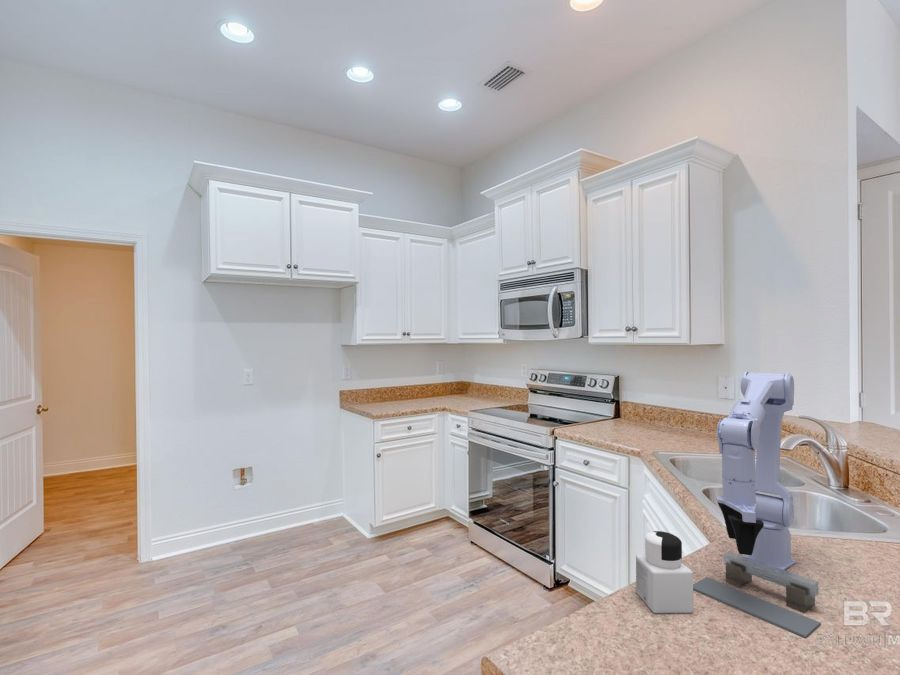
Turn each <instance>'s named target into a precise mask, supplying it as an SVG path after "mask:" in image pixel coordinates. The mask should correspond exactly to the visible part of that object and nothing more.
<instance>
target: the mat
mask: <svg viewBox="0 0 900 675" xmlns="http://www.w3.org/2000/svg"><path fill="white" fill-rule="evenodd" d="M693 591H695V592H697V593H700V594H702V595H704V596H707V597H709V598H711V599H714V600H715V601H718V602H721V603H722V604H725V605H728V606H730V607H732V608H735V609H737V610H739V611H741V612H743V613H746V614H748V615H750V616H753V617H756V618H758V619H760V620H762V621H765V622H767V623H769V624H771V625H774V626H776V627H779V628H781V629H783V630H786V631H788V632H790V633H792V634H794V635H797V636H799V637H801V638H804V639H807V638H808V637H809V636H810V635H812V634H813V633H814V632H815V631H816V630H817V629H818V628H819V627H820V626H822V625H821V624H822V623H821V622H820V621H818V620H816V619H813V618H811V617H808V616H805V615H804V614H801V613H798V612H796V611H793V610H790V609H788V608H786V607H783V606H780V605H778V604H776V603H773V602H770V601H768V600H766V599H763V598H760V597H757V596H755V595H753V594H750V593H748V592H746V591H743V590H741V589H737V588H736V587H733V586H730V585H728V584H725V583H722V582H720V581H718V580H715V579H713V578H710V577H708V576H706V577H703V578H702V579H700V580H698V581H696V582H693Z"/></svg>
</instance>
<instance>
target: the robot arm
mask: <svg viewBox="0 0 900 675" xmlns="http://www.w3.org/2000/svg"><path fill="white" fill-rule="evenodd" d="M740 391H741V394H742V395H743V398H741V399H739V400H737V401H736V402H735V403H734V405H733V407H732V409H731V410H730V412H729V415H728V416H727V417H724V418H723V419H720V420H719V421H718V422H717V427H716V439H717V443H718V448H719V449H718V451H719V454H720V455H721V475H722V476H721V479H722V483H721V484H722V487H721V490H722V496H716V497H715V501H716V502H717V504H718V507H719V508H720V510H721V513H722V516H723V519H724V524H725V530H726V532H727V536H728V538H729V539H730V540H731V539H732V540H735V544H736V548H737V551H738V554H739V555H742V556H744V557H747V558H750V559H753V560H756V561H759V562H762V563H765V564H768V565H771V566H774V567H777V568H780V569H783V570H786V569H789V567H790V568H791V566H793V565H794V564H795V563H796V562H797V560H796V559H793V558H792V541H791V540H792V536H791V534H792V533H791V531H790V530H789V528H790V527H791V526H792V525H793V523H794V517H795V507H794V496H793V494H792V492H791V491H790V490H789V489H788V488H786V486H784V485H783V484H781V482H780V481H779V480H780V463H781V444H782V443H781V442H782V422H783V418H784V414H785V413H786V412H790V411H792V410H793V406H794V403H795V402H794V400H795V379H794V376H793V375H792V374H791V373H790V372H786V373H774V372H772V373H771V372H770V373H769V372H749V371H745V372H744V373H742V375H741V376H740ZM759 492H760V493H759ZM763 493H765V494H763ZM768 494H770V495H768ZM773 495H774V496H773ZM775 495H776V496H775Z"/></svg>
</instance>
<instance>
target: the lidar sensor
mask: <svg viewBox="0 0 900 675" xmlns="http://www.w3.org/2000/svg"><path fill="white" fill-rule="evenodd" d="M682 543H683V542H682V540H681V539H680V537H678V536H677V535H675V534H672V533H671V532H667V531H662V530H661V531H659V530H658V531H657V530H655V531H650V532H647V533H646V534H645V536H644V554H636V555H635V592H636V594H637V595H638V596H639V597H640V599H641V600H642V601H643V602H644V604H646V606H647V607H648V608H649V609H650V611H651V612H653V614H691V613H694V590H693V584H694V572H693V571H692V570H691V569H690V568H689V567H688V566H686V565H685V564H684V563H682V562H683V548H682V547H683V544H682Z"/></svg>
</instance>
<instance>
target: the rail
mask: <svg viewBox="0 0 900 675" xmlns="http://www.w3.org/2000/svg"><path fill="white" fill-rule="evenodd" d="M744 556H745V555H743V554H739V553H735V552H732V551H730V550H728V551H727V552H724V553H723V565H725V566H726V562H727V563H730V564H733V565H735V566H738V567H741V568H742V571H743V572H746V573H749V574H751V575H752V576H755V577H757V578H760V579H762V580H765V581H768V582H771V583H774V584H776V585H779V586H782V587H785V588H786V584H788V585H791V586H794V587H797V588H799V589H802V590H805V591H806V595H809V596H811V597H815V598H816V596H817V595H819V592H820V591H819V585H820V584H819V581H817V580H814V579H811V578H809V577H806V576H803V575H800V574H797V573H794V572H791V571H788V570H786V569H785V570H783V569H780V568H777V567H774V566H771V565H768V564H765V563H762V562H759V561H756V560H753V559H750V558H747V557H744Z"/></svg>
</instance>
